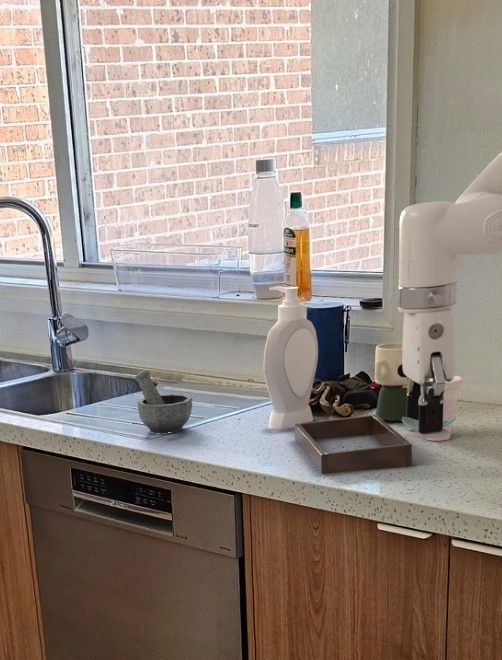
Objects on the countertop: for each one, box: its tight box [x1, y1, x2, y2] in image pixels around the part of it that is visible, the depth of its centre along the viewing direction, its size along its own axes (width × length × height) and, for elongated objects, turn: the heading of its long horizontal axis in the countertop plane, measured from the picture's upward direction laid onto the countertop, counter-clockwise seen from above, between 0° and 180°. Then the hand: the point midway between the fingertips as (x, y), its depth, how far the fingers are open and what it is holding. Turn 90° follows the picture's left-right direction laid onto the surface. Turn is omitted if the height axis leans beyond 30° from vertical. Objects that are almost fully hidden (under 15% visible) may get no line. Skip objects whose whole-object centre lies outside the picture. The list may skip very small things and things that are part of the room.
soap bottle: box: [263, 285, 319, 430], centre depth 217 cm, size 13×8×24 cm, turn 121°
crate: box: [294, 413, 413, 475], centre depth 198 cm, size 14×23×4 cm, turn 176°
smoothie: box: [425, 375, 463, 442], centre depth 197 cm, size 6×6×14 cm
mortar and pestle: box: [134, 370, 193, 433], centre depth 225 cm, size 11×9×12 cm
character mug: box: [374, 341, 411, 422], centre depth 213 cm, size 11×7×13 cm, turn 126°
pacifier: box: [401, 390, 457, 439], centre depth 174 cm, size 7×6×6 cm
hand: (424, 426), depth 175 cm, fingers closed on pacifier, 5 cm apart
